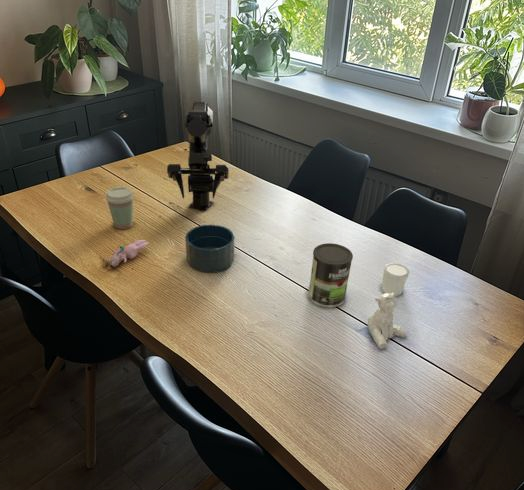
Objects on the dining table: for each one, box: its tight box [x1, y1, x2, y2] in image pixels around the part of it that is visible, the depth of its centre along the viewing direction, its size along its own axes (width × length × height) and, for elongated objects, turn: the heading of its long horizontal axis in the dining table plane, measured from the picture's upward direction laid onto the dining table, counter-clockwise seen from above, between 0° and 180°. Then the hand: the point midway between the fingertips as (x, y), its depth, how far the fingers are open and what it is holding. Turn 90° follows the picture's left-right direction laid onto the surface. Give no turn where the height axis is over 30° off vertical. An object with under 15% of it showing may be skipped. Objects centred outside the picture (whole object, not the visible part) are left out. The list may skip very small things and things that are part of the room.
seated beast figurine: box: [367, 293, 407, 350], centre depth 122 cm, size 10×9×12 cm
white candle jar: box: [381, 262, 410, 297], centre depth 139 cm, size 7×7×7 cm
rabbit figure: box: [102, 239, 150, 270], centre depth 146 cm, size 6×6×15 cm
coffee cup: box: [105, 186, 134, 230], centre depth 160 cm, size 9×8×12 cm
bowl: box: [184, 224, 236, 274], centre depth 147 cm, size 14×14×8 cm
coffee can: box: [307, 242, 354, 309], centre depth 133 cm, size 10×10×14 cm
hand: (198, 198), depth 154 cm, fingers open, 9 cm apart
